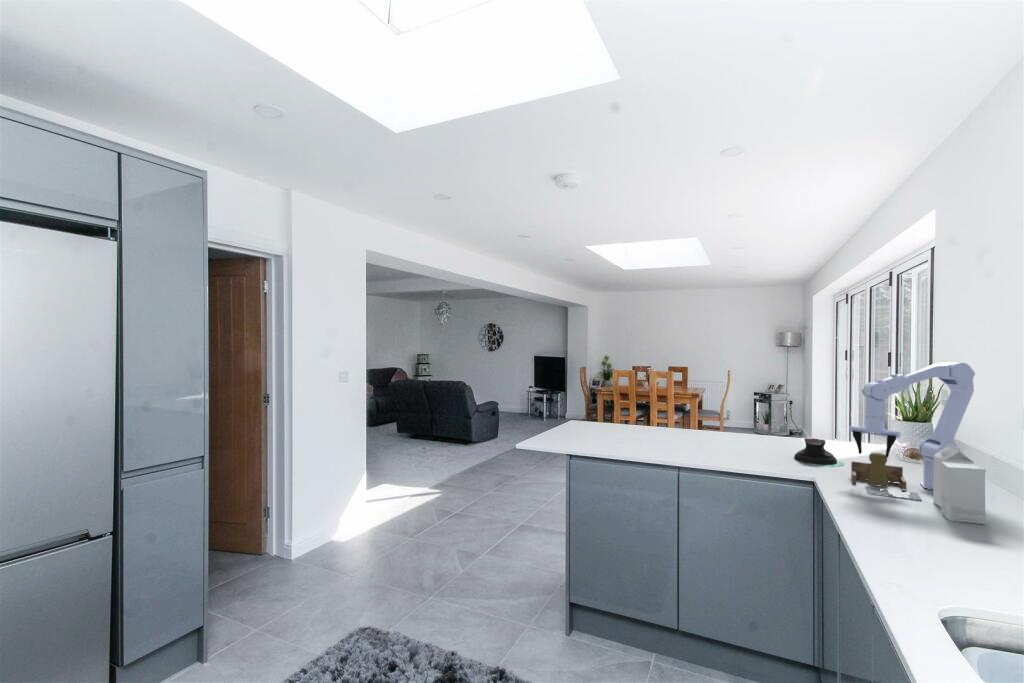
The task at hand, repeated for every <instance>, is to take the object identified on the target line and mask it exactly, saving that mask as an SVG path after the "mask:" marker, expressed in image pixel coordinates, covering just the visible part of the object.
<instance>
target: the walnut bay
mask: <svg viewBox="0 0 1024 683" xmlns="http://www.w3.org/2000/svg"><path fill="white" fill-rule="evenodd" d="M870 465H871V462H861V461H851V465H850V466H851V473H850V474H851V477H850V478H851V481H852V484H853V483H855V485H857V478H859V480H865V479H868V477H869V471H870ZM885 465H886V472H887V479H888V481H890V482H899V483H900V485H901V486H900V485H899V486H900V488H901V487H902V488H901V490H902V489H906V490H907V480H906V478H905V477H904V476H903V473H904V472H903V470H904V467H903V466H899V465H898V466H897V465H889V464H885Z"/></svg>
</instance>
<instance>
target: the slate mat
mask: <svg viewBox="0 0 1024 683" xmlns="http://www.w3.org/2000/svg"><path fill="white" fill-rule="evenodd" d="M880 488H881V487H879V486H872V485H871V486H868V485H865V490H866V489H867V490H866V493H867V492H868V493H873V494H872V495H874V494H881V495H888V496H893V495H892V494H889V492H888V490H887V489H888V488H886V489H884V490H881V491H880ZM909 492H910V495H908V496H909V498H910V499H916V500H915V501H917V500H922V501H923V499H922V498H921V496H920V495H919V494H918V492H914V491H909ZM868 493H867V494H868ZM881 495H880V496H881ZM888 496H887V497H888Z"/></svg>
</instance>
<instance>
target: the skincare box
mask: <svg viewBox="0 0 1024 683" xmlns="http://www.w3.org/2000/svg"><path fill="white" fill-rule="evenodd" d="M940 509H941V511H940V513H941V515H942V516H943V515H944V518H946V519H947V520H948V521H949V522H960V523H966V524H967V523H969V524H977V525H986V469H985V468H983V467H981V466H979V465H977V464H976V463H974V464H962V463H947V462H941V507H940Z"/></svg>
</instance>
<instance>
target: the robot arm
mask: <svg viewBox="0 0 1024 683" xmlns="http://www.w3.org/2000/svg"><path fill="white" fill-rule="evenodd" d="M975 375H976V372H975V371H974V370H973V368H972V367H971V365H969V363H965V362H951V361H949V362H948V361H940V362H938V363H937V362H936V363H932V364H930V365H928V366H926V367H923V368H921V369H918V370H915V371H914V372H911V373H908V374H906V375H903V374H901V373H892V374H891V375H890V376H888V377H886V378H883V379H881V378H879V379H877V381H876V382H872V381H871V382H868V383H866V384H865V385H864V386H863V389H861V393H862V394H863V396H864V398H865V401H864V402H865V403H864V404H865V405H864V426H855V425H854V426H852V425H849V426H848V428H849V429H848V432H849V433H852V436H853V439H854V441H855V443H856V445H857V449H858V451H857V452H858V454H859V455H860V454H862V452H863V450H862V439H863V438H862V436H863V434H867V435H876V436H877V435H878V436H884V437H886V449H885V450H886V451H885V455H886V457H887V458H889V454H890V451H891V449H892V447H893V445H894V443H895V442H896V440H897V438H899V439H900V438H901V431H898V430H889V429H886V428H885V427H886V426H885V425H886V424H885V423H886V422H885V421H886V400H887V399H888V398H889V397H890V396H891V395H894V394H897V393H900V392H902V391H903V392H904V391H906V390H908V389H909V388H910V385H913V384H915V383H920V382H923V381H926V380H930V379H933V378H938V379H939V380H940V381H941V382H942V383H943V384H945V385H947V387H948V388H949V391H950V393H949V395H948V397H947V400H946V402H945V404H944V407H943V409H942V412H941V414H940V416H939V419H938V422H937V424H936V426H935V428H934V429H933V430H934V431H932V433H929V434H928V435H927V436H926V438H925V440H924V441H923V442H921V443H920V444H919V446H918V451H919V454H920V455H921V456H922V460H923V475H922V476H923V479H922V480H923V481H920V482H919V483H920V485H921V486H922V488H923V487H924V488H923V489H925V488H927V489H926V490H933V478H934V455H935V454H937V453H938V452H940V450H942V449H944V448H946V447H947V443H948V444H951V445H953V446H956V447H958V444H957V442H956V441H955V436H956V434H957V432H958V430H959V427H960V425H961V422H962V420H963V418H964V415H965V413H966V412H967V408H968V406H969V404H970V401H971V399H972V396H973V394H974V391H975V388H974V386H975V385H974V378H975Z"/></svg>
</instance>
